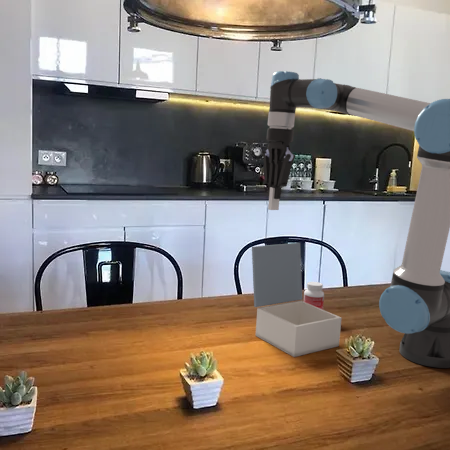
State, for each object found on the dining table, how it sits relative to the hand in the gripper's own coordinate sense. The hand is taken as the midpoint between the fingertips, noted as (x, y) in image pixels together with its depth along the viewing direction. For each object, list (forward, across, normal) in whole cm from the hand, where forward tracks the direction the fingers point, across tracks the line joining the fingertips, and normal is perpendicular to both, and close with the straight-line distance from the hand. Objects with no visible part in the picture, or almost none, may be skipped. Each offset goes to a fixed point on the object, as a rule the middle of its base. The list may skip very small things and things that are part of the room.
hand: (273, 209), depth 156 cm
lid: (+17, -9, +3) cm, 19 cm away
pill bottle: (+34, -6, -14) cm, 37 cm away
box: (+33, -19, +3) cm, 38 cm away
